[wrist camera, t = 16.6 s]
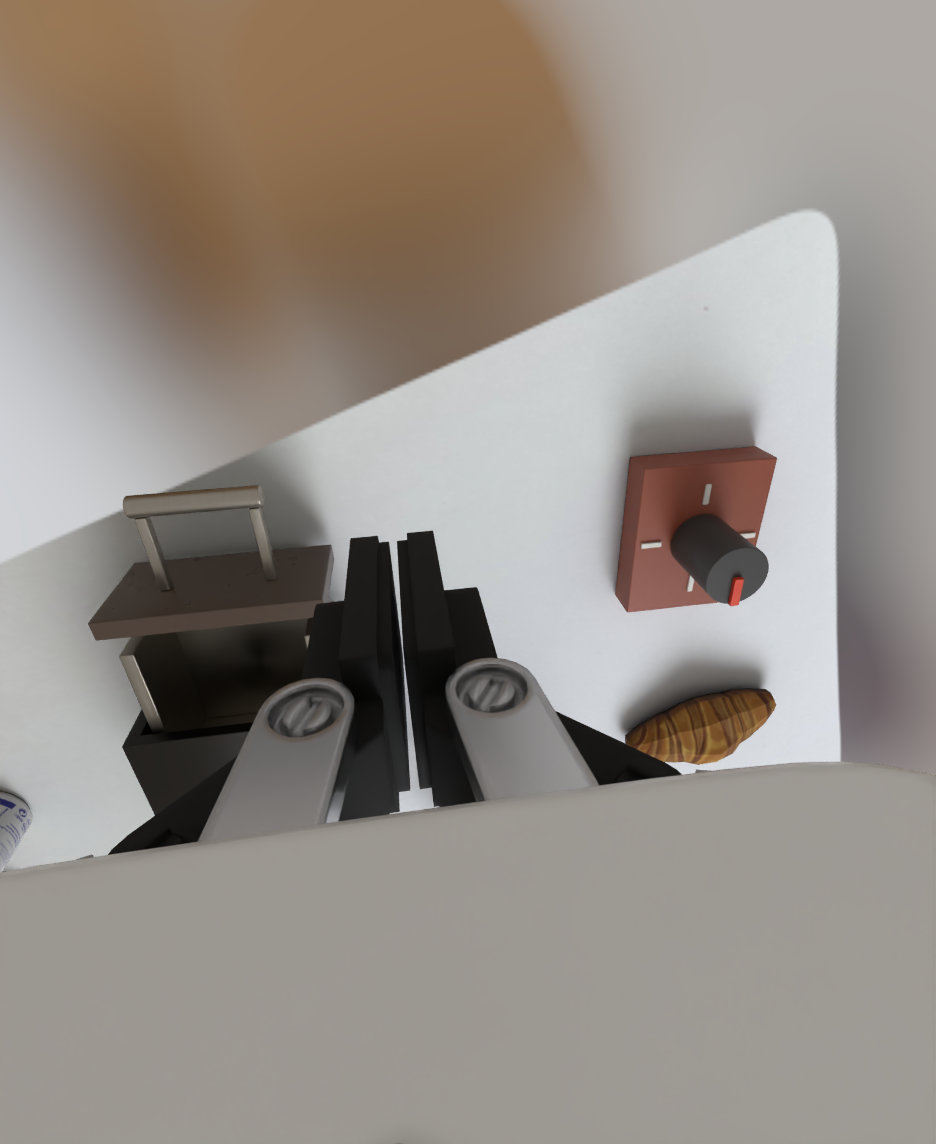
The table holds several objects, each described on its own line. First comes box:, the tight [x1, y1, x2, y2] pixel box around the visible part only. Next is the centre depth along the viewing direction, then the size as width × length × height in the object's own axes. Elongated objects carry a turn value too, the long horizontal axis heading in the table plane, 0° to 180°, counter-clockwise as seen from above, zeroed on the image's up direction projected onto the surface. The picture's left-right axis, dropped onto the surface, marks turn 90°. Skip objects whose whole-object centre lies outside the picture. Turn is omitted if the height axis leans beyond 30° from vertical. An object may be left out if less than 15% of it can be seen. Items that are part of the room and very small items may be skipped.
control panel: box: [615, 447, 777, 612], centre depth 40 cm, size 11×9×3 cm
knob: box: [671, 514, 769, 606], centre depth 37 cm, size 4×4×5 cm
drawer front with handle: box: [88, 485, 334, 734], centre depth 36 cm, size 19×12×7 cm, turn 2°
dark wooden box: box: [122, 710, 253, 815], centre depth 42 cm, size 15×14×9 cm
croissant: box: [625, 689, 776, 765], centre depth 49 cm, size 14×7×5 cm, turn 108°
